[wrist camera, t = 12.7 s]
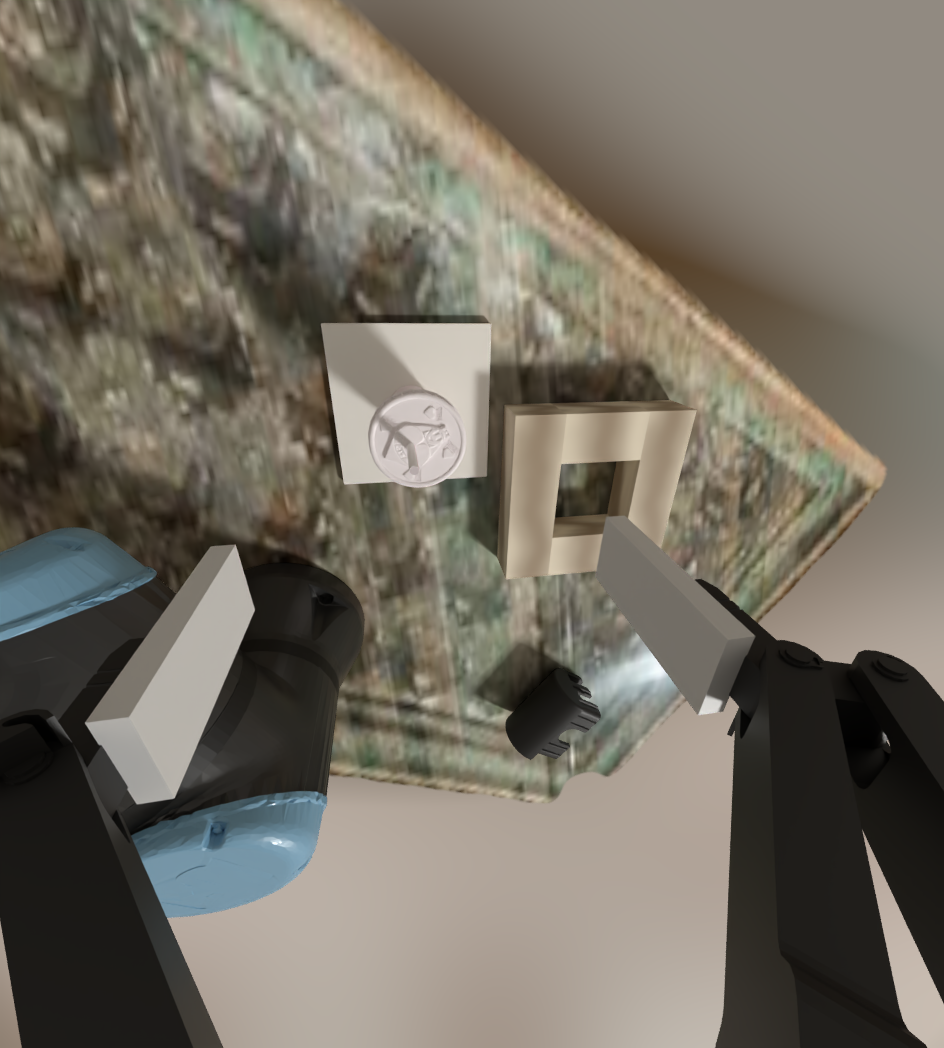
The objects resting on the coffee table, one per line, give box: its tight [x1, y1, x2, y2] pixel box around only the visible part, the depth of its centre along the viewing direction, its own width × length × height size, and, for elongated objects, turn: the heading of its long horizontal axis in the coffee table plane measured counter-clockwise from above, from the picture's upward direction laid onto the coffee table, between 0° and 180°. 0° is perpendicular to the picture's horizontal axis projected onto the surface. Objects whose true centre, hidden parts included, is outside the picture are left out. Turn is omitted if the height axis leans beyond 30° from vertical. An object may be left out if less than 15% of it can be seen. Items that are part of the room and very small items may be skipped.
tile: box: [321, 323, 491, 484], centre depth 36 cm, size 13×13×1 cm
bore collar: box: [497, 400, 697, 579], centre depth 41 cm, size 16×16×4 cm
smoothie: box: [368, 385, 466, 487], centre depth 30 cm, size 6×6×14 cm
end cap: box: [506, 668, 601, 760], centre depth 54 cm, size 10×7×7 cm
